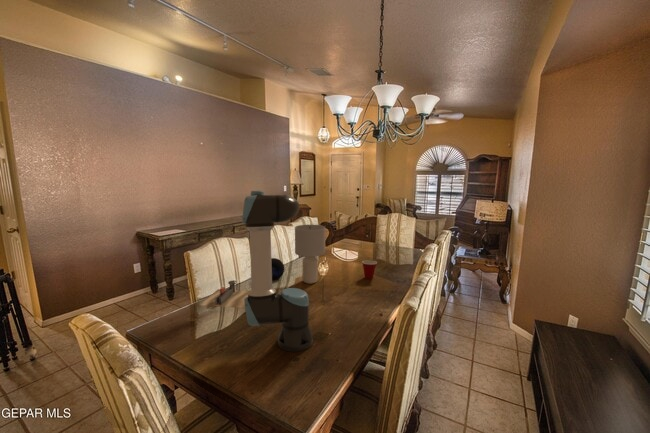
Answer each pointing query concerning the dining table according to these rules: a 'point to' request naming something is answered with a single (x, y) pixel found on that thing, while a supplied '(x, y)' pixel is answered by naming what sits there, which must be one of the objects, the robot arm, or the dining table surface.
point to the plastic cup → (369, 268)
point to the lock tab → (222, 290)
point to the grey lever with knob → (227, 293)
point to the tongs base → (222, 294)
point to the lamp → (310, 249)
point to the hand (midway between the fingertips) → (258, 255)
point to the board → (232, 301)
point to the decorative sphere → (277, 268)
